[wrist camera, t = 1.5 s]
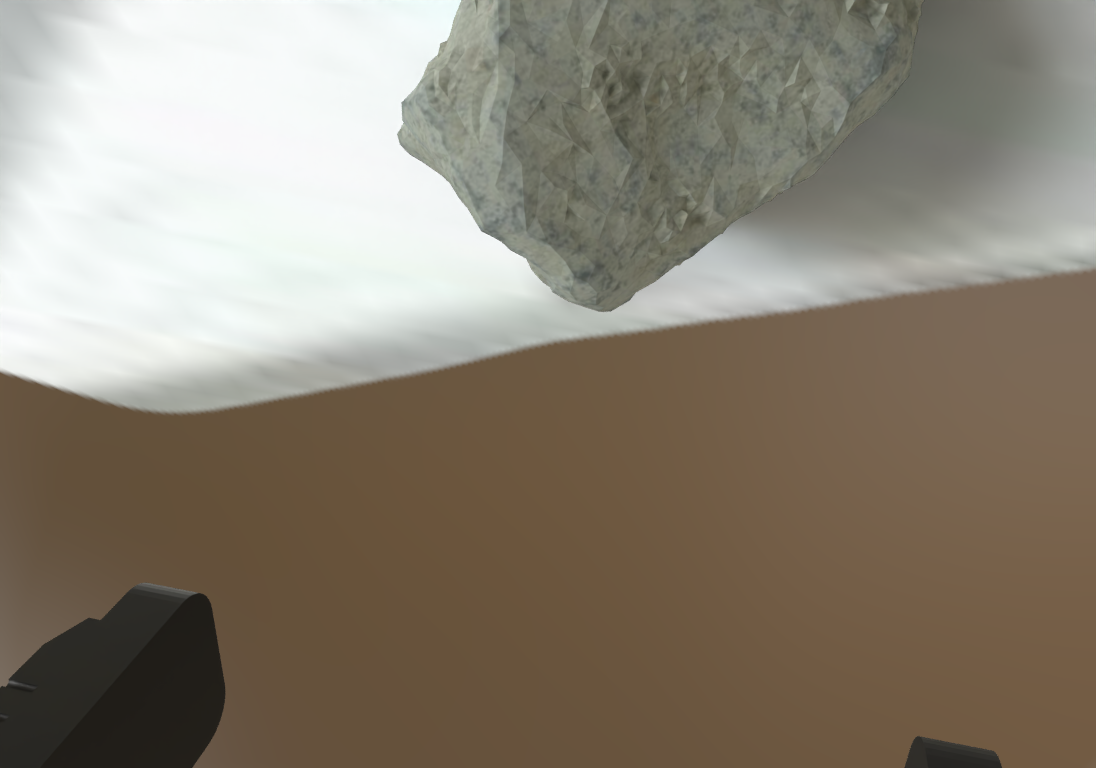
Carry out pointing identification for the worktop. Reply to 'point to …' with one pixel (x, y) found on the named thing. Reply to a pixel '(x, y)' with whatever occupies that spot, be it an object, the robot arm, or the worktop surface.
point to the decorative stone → (644, 121)
